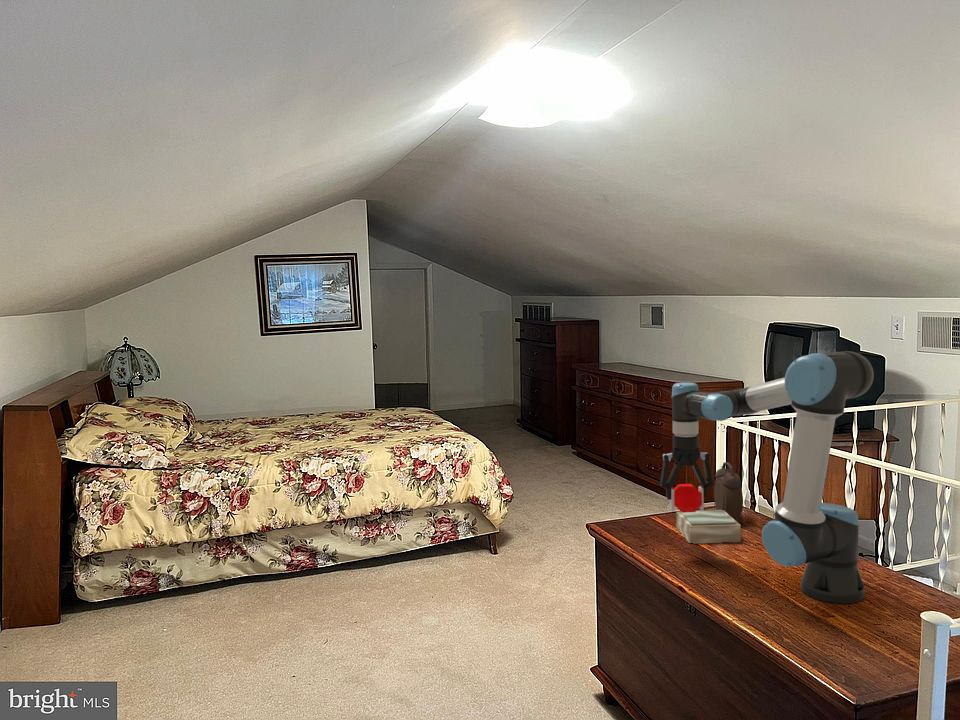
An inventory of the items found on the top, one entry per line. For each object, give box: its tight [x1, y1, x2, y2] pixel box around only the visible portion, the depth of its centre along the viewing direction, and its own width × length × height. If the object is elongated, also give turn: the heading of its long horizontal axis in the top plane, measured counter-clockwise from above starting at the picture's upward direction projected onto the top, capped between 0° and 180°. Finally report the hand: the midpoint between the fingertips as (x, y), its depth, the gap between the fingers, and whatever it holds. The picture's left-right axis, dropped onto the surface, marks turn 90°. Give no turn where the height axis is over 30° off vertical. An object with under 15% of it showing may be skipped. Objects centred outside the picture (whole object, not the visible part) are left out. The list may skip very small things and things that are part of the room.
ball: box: [673, 483, 702, 513], centre depth 222 cm, size 8×8×8 cm
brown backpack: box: [713, 461, 744, 523], centre depth 256 cm, size 15×7×20 cm, turn 179°
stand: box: [675, 509, 742, 544], centre depth 241 cm, size 16×16×6 cm
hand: (686, 509), depth 222 cm, fingers closed on ball, 8 cm apart
